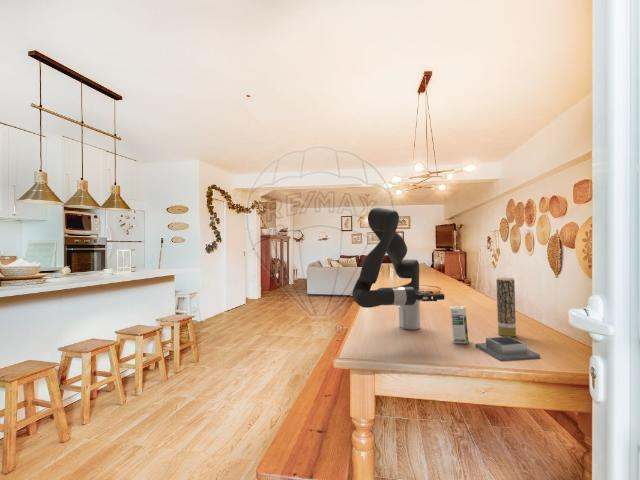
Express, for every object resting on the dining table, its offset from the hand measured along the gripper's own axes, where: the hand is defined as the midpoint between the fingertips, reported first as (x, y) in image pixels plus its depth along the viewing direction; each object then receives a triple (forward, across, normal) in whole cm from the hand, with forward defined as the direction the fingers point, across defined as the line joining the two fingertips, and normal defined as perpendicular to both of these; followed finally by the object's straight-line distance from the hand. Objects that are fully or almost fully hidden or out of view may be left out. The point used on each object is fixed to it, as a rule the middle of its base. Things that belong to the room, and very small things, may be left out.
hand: (438, 295), depth 133 cm
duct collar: (+18, -16, +19) cm, 31 cm away
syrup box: (+10, -1, +19) cm, 22 cm away
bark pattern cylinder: (+34, +2, +18) cm, 39 cm away
